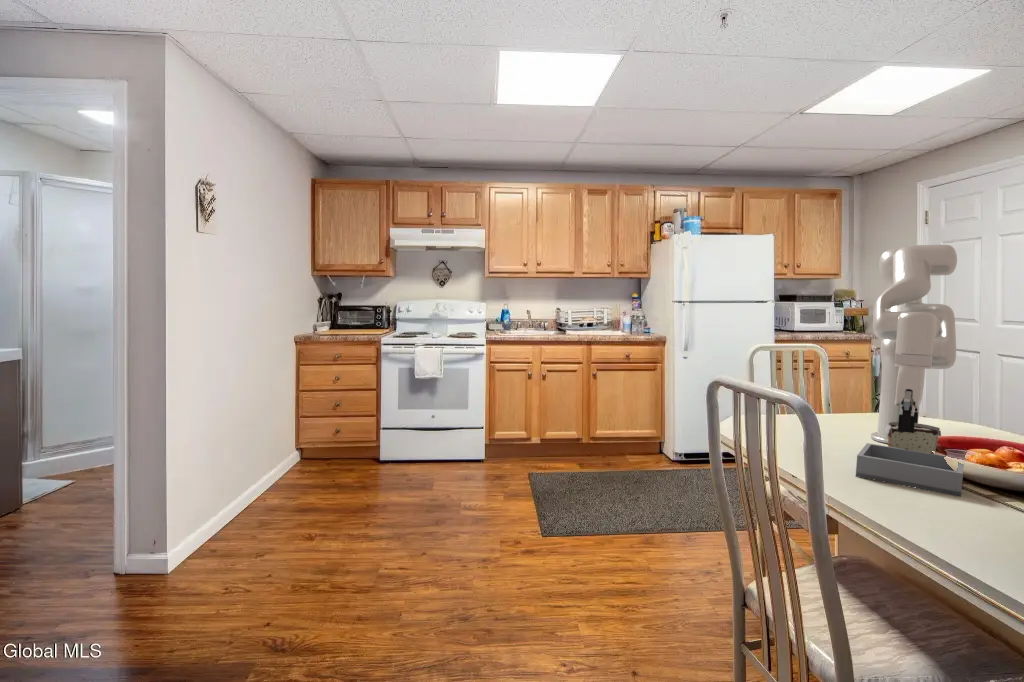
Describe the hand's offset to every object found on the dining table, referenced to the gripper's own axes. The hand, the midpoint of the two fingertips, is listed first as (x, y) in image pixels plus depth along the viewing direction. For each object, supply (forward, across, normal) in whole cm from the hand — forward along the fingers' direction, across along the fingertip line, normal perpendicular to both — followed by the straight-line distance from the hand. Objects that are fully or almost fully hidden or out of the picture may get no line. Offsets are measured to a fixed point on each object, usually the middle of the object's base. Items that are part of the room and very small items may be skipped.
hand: (907, 429), depth 138 cm
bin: (+9, +13, +2) cm, 16 cm away
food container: (+9, -1, 0) cm, 9 cm away
